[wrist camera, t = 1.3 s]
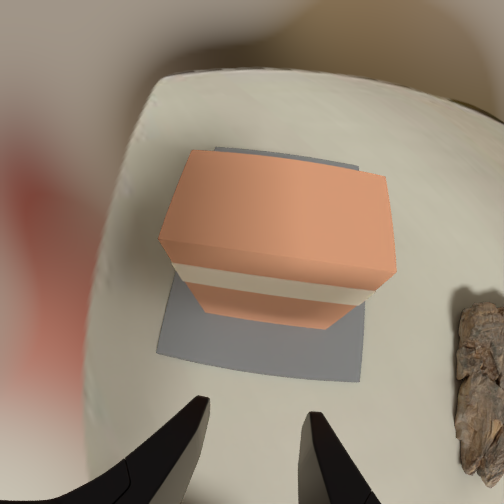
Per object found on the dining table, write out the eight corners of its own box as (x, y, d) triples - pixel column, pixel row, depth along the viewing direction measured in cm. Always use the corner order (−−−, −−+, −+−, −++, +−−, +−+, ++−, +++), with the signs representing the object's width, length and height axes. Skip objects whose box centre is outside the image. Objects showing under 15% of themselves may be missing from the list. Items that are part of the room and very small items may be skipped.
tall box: (326, 330, 21) (397, 273, 10) (204, 313, 21) (156, 239, 11) (330, 270, 23) (385, 176, 12) (217, 254, 24) (191, 149, 13)
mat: (357, 382, 19) (359, 382, 19) (157, 353, 20) (155, 352, 20) (357, 168, 29) (358, 166, 28) (215, 149, 30) (215, 146, 29)
